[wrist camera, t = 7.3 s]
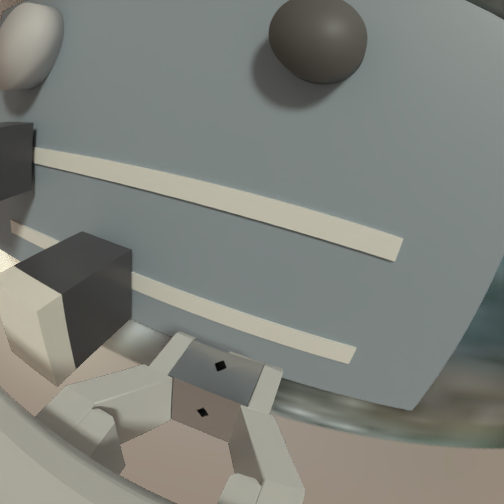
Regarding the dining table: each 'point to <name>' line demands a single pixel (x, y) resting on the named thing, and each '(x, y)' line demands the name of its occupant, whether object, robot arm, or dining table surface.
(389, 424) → the dining table surface
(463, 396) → the dining table surface
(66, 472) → the robot arm
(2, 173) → the fader orange
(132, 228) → the console
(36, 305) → the fader white
